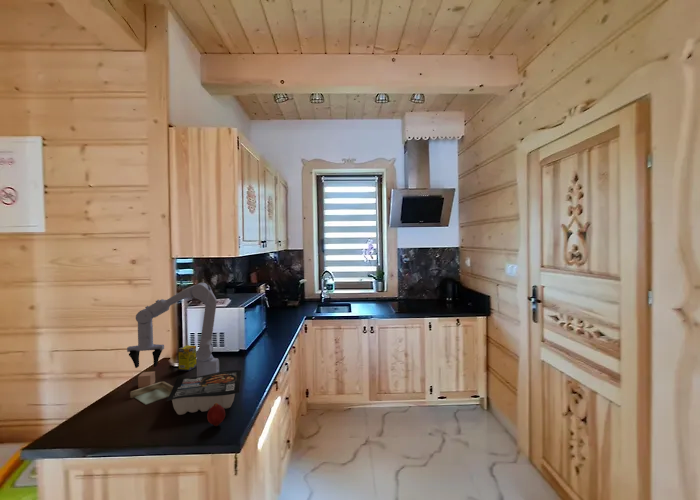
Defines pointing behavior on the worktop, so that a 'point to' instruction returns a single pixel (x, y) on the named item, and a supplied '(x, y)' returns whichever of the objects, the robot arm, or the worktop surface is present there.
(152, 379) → the terracotta cube
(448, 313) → the worktop surface
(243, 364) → the worktop surface
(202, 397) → the food packaging
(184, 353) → the supplement box
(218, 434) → the worktop surface
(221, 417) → the onion
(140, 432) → the worktop surface
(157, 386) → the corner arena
